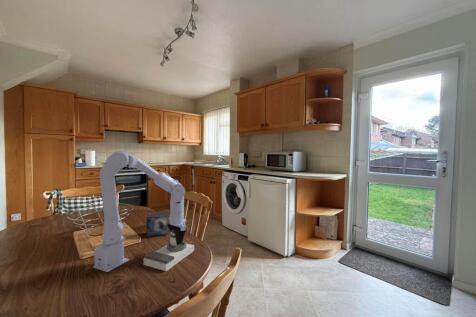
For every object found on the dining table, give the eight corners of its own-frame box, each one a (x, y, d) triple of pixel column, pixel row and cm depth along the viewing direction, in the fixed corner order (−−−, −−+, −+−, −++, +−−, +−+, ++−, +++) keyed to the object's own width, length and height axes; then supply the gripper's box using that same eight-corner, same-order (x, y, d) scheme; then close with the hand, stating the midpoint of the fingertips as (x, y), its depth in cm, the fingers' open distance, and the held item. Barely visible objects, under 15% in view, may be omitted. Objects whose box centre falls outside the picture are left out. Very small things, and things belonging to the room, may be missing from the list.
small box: (145, 237, 109) (145, 217, 109) (147, 232, 116) (147, 213, 115) (167, 235, 112) (167, 215, 112) (168, 230, 119) (168, 212, 118)
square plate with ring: (166, 271, 79) (166, 260, 79) (143, 264, 83) (143, 254, 83) (194, 250, 96) (194, 241, 96) (174, 246, 100) (174, 237, 100)
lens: (184, 246, 92) (184, 232, 92) (172, 249, 89) (173, 234, 89) (179, 242, 97) (179, 229, 96) (167, 244, 93) (168, 231, 93)
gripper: (193, 213, 89) (192, 245, 90) (179, 206, 101) (179, 234, 101) (176, 216, 85) (176, 250, 85) (164, 208, 96) (164, 237, 97)
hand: (176, 242), depth 93 cm, fingers closed on lens, 5 cm apart
